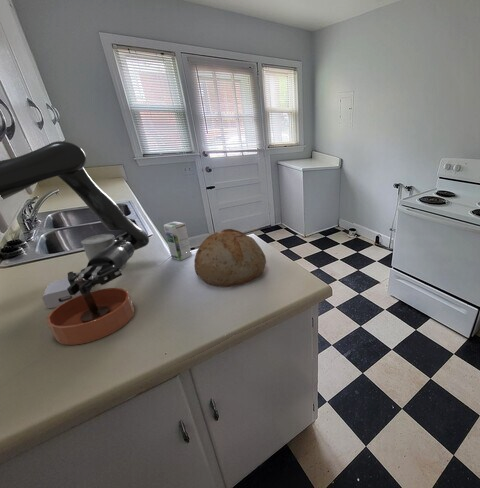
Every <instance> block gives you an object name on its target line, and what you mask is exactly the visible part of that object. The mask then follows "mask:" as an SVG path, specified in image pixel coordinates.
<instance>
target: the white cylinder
mask: <svg viewBox="0 0 480 488" xmlns="http://www.w3.org/2000/svg"><path fill="white" fill-rule="evenodd" d="M115 238H116V237H115V235H114V234H112V233H103V234H102V233H101V234H96V235H92V236H88V237H86V238H84V239H82V240H80V244H81V246H82V249H83V250H84V252H85V255H86V257H87V260H88V262H89V261H90V259H92V258H93V257H94V256H95V255H97V254H98V253H99V252H100V251H102V250H103V249H105V248H107V247H108V246H109V245H111V243H112V241H113V240H114V239H115ZM123 268H125V265H124V266H123V267H122V268H121V269H123Z"/></svg>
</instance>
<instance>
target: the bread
mask: <svg viewBox="0 0 480 488" xmlns="http://www.w3.org/2000/svg"><path fill="white" fill-rule="evenodd" d="M193 261H194V262H193V263H194V265H193V267H194V272H195V273H196V275H197V276H198V277H200V280H202V281H203V282H204V283H205V284H207V285H209V286H213V287H220V288H221V287H222V288H231V287H236V286H240V285H245V284H246V283H249V282H251V281H252V280H254V279H255V278H256V277H258V276H260V275H261V274H262V272H263V271H264V270H265V268H266V264H267V259H266V255H265V253H264V251H263V250H262V248H261V246H260V245H259V243H258V242H257V240H255V239H254V238H253V237H252V236H250V235H246V234H245V233H244V232H242V231H240V230H237V229H234V228H225V229H222V230H221V231H219V232H217V231H215V232H213V233H211V234H209V235H208V236H207V237H206V238H205V239H204V240H203V241H202V243H200V245H199V247H198V248H197V250H196V253H195V255H194V260H193Z"/></svg>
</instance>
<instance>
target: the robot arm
mask: <svg viewBox="0 0 480 488" xmlns="http://www.w3.org/2000/svg"><path fill="white" fill-rule="evenodd" d="M86 163H87V156H86V153H85V151H84V150H83V149H82V148H81V147H80V146H78V144H75V143H73V142H69V141H62V140H58V141H57V140H56V141H53V142H51V143H48V144H46V145H44V146H42V147H39V148H37V149H35V150H32V151H30V152H28V153H24V154H22V155H18V156H15V157H12V158H8V159H3V160H0V195H1V197H2V198H3V200H6V199H8V198H10V197H12V196H14V195H16V194H19V193H20V192H22V191H24V190H26V189H28V188H29V187H31V186H34V185H36V184H38V183H40V182H43V181H46V180H49V179H52V178H55V177H58V179H60V180H62V181H63V182H64V183H65V184H66V185H67V186H68V187H69V188H70V189H71V190H72V191H74V193H75V194H76V195H77V196H78V197H79V198H80V199H81V201H83V203H84V204H85V205H86V206H87V208H88V209H89V210H90V211H91V212H92V214H93V215H95V217H96V218H97V219H98V220H99V221H100V223H101V224H102V225H103V226H104V227H105V228H106V230H107V231H111V232H115V231H123V232H125V233H122V234H119V235H117V236H116V237H114V238H115V239H114V240H113V241H112V243H111V245H109V246H108V247H107V248H105V249H103V250H102V251H100V252H99V253H98V254H97V255H95V256H94V257H93V258H92V259H90V261H89V260H88V263H87V265H86V267H85V268H82V269H81V270H80V271H79V272H74V271H68V272H67V277H68V281H69V283H70V285H71V286H69V287H68V288H67V290H68V292H69V294H70V295H75V294H76V293H77V292H78V291H79V290H80V293H81V294H85V293H86V292H88V291H89V290H90V291H91V290H92V289H93V288H94V287H98V285H100V286H103V285H106V284H108V283H110V282H112V281H114V280H115V279H117V278H120V277H121V276H123V272H122V270H121V268H122V267H123V266H124V267H125V265H126V264H127V263H128V261H129V260H130V259H131V258H132V256H134V254H135V251H137V250H139V249H142V248H144V247H147V246H148V245H149V243H150V238H149V237H150V236H149V235H148V233H147V232H146V231H145V230H143V228H142V227H140V226H139V225H137V224H136V223H135V222H133V221H132V220H131V219H129V218H128V217H127V216H126V214H125V213H124V211H122V209H121V208H120V207H119V206H118V205H117V203H116V202H115V201H114V200H113V199H112V198H111V197H110V196H109V195H108V194H107V193H105V192H104V190H102V189H101V188H100V187H99V186H98V185H97V184H96V183H95V182H94V181H93V179H92V178H91V177H90V176H89V174H88V173H87V170H85V168H84V167H85V166H86ZM124 267H123V268H124ZM123 268H122V269H123ZM80 278H83V279H85V280H86V281H85V282H84V283H83V284H82V285H80V286H79V287H78V284H77V280H78V279H80Z"/></svg>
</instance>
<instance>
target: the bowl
mask: <svg viewBox="0 0 480 488" xmlns="http://www.w3.org/2000/svg"><path fill="white" fill-rule="evenodd" d="M90 292H91V294H92V296H93V299H94V301H95V303H96V306H97V307H99V306H107V307H109V309H110V313H108V314H106V315H104V316H103V317H100V318H98V319H95V320H92V321H90V322H86V323H82V321H81V319H80V317H81V315H82V314H83V313H84V312H86V311H88V310H89V309H88V307H87V305H86V302H85V300H84V298H83V296H82V294H81V295H79V296H76V297H74V298H72V299H69V300H68V301H66V302H64V303H62V304H61V305H59V306H57V307H54V308H53V309H52V310H51V311H50V312H49V314H48V315H47V317H46V325H47V326H48V328H49V330H50V333H51V334H52V336H53V338H54V339H55V340H56V341H57V343H60V344H61V345H66V346H75V345H76V346H77V345H82V344H83V345H84V344H88V343H92V342H95V341H98V340H100V339H102V338H105V337H107V336H109V335H112V334H113V333H115V332H117V331H118V330H120V329H122V328H123V327H125V326H126V325H127V324H128V323H129V322H130V321H131V320H132V318H133V317H134V314H135V306H134V303H133V301H132V298H131V295H130V293H129V292H128V290H126V289H124V288H121V287H120V288H119V287H109V288H107V287H106V288H100V289H95V290H90Z"/></svg>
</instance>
